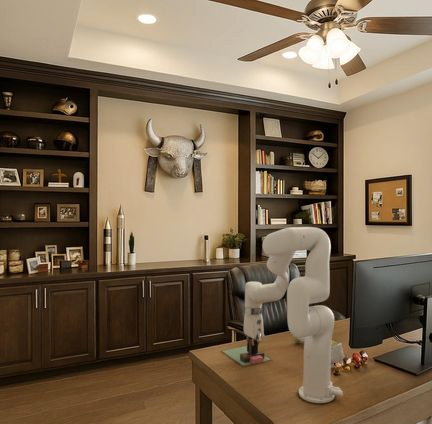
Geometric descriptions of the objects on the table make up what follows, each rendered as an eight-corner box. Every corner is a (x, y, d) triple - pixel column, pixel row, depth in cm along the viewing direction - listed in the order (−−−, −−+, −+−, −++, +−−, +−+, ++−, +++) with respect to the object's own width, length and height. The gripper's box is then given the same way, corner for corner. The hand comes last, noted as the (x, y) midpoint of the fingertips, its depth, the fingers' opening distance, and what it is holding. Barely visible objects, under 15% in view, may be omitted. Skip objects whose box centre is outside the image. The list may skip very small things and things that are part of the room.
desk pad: (271, 360, 170) (271, 359, 170) (243, 366, 162) (243, 365, 162) (247, 346, 187) (247, 345, 187) (221, 351, 179) (221, 350, 179)
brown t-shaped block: (240, 359, 169) (240, 340, 169) (259, 355, 174) (259, 336, 174) (244, 362, 165) (245, 343, 165) (264, 358, 170) (264, 339, 170)
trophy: (291, 327, 192) (330, 345, 165) (303, 325, 195) (344, 343, 169) (291, 344, 192) (330, 365, 165) (303, 342, 195) (344, 362, 169)
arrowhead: (331, 370, 160) (331, 346, 160) (327, 368, 162) (327, 344, 162) (346, 366, 164) (346, 343, 164) (342, 364, 166) (342, 341, 166)
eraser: (249, 361, 166) (249, 357, 166) (259, 359, 169) (259, 355, 169) (253, 364, 164) (253, 359, 164) (263, 362, 167) (263, 357, 167)
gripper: (270, 313, 164) (269, 357, 165) (251, 305, 178) (250, 345, 178) (255, 316, 161) (254, 360, 161) (236, 307, 174) (235, 348, 174)
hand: (252, 352), depth 169 cm, fingers closed on brown t-shaped block, 2 cm apart
